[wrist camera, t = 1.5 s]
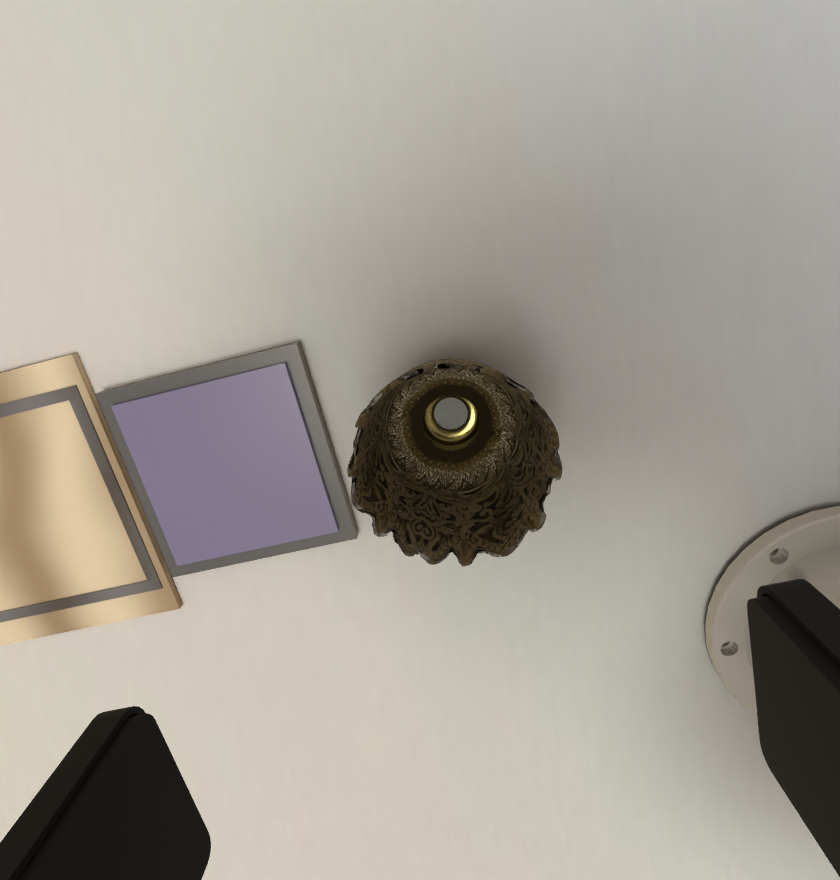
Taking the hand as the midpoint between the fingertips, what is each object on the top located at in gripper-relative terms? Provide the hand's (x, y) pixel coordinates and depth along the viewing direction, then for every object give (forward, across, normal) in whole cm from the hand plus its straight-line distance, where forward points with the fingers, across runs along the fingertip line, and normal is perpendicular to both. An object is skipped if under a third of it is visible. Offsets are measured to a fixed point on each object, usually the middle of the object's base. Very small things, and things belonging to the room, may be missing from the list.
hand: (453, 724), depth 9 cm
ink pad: (+20, +11, 0) cm, 22 cm away
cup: (+20, 0, 0) cm, 20 cm away
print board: (+20, +22, 0) cm, 30 cm away
